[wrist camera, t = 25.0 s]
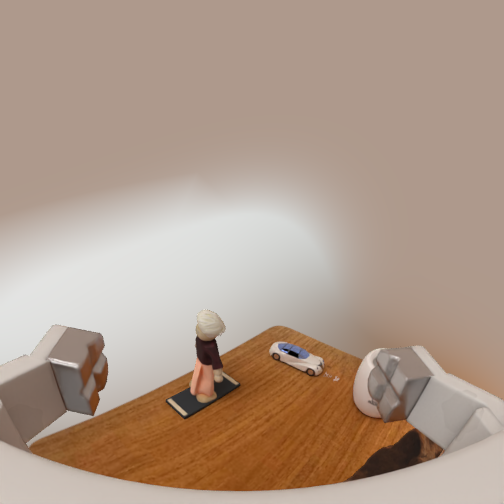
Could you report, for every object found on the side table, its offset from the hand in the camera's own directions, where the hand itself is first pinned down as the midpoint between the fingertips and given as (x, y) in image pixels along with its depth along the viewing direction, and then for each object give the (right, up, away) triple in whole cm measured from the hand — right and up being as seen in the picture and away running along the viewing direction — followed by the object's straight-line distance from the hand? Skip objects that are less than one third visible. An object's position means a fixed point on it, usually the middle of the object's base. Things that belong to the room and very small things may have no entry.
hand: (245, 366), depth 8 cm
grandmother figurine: (-6, -16, +29) cm, 34 cm away
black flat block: (-6, -16, +30) cm, 34 cm away
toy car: (+8, -15, +38) cm, 42 cm away
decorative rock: (+13, -23, +15) cm, 31 cm away
